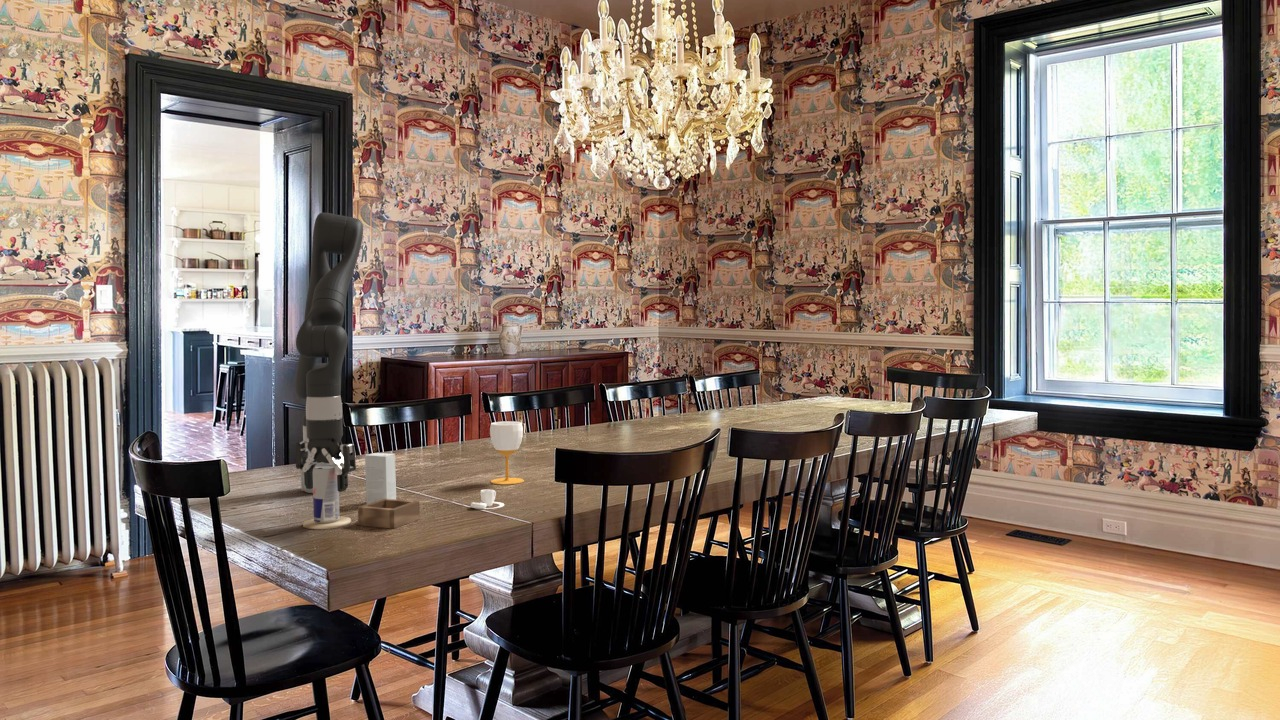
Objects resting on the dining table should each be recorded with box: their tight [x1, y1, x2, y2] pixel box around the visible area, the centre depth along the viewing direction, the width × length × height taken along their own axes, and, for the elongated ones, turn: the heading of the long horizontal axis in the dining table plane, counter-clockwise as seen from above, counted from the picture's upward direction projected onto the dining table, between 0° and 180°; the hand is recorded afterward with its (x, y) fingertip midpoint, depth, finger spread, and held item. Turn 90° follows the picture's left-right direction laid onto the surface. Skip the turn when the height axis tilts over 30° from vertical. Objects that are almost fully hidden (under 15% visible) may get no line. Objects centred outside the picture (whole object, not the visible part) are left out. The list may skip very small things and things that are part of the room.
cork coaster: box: [302, 515, 352, 530], centre depth 200 cm, size 10×10×1 cm
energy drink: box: [312, 465, 340, 524], centre depth 200 cm, size 5×5×12 cm
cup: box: [489, 420, 525, 486], centre depth 247 cm, size 9×9×16 cm
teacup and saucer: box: [470, 488, 505, 510], centre depth 217 cm, size 9×8×4 cm
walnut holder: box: [357, 498, 421, 529], centre depth 201 cm, size 9×9×4 cm
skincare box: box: [364, 452, 397, 504], centre depth 221 cm, size 6×4×12 cm
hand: (326, 489), depth 200 cm, fingers open, 8 cm apart
